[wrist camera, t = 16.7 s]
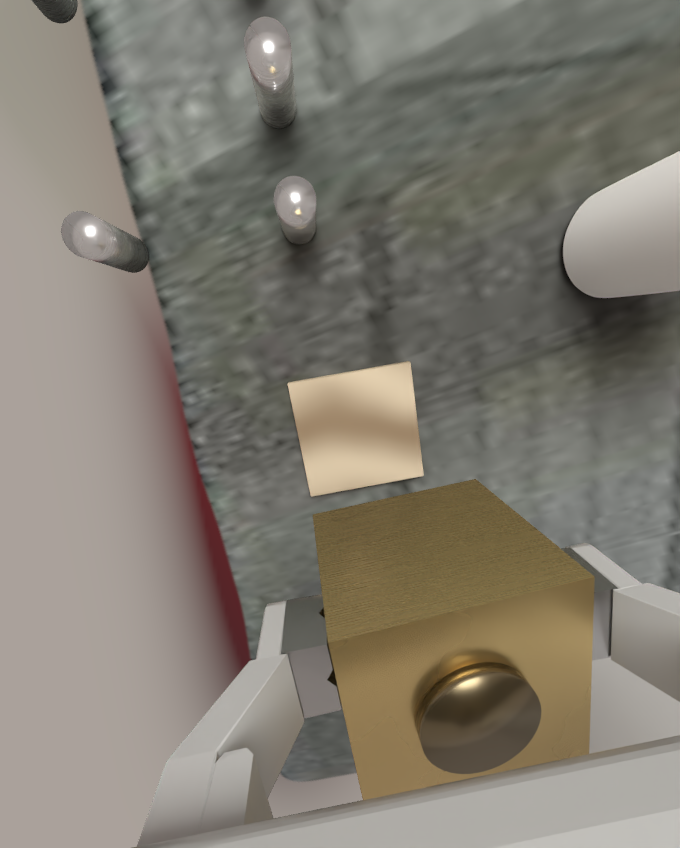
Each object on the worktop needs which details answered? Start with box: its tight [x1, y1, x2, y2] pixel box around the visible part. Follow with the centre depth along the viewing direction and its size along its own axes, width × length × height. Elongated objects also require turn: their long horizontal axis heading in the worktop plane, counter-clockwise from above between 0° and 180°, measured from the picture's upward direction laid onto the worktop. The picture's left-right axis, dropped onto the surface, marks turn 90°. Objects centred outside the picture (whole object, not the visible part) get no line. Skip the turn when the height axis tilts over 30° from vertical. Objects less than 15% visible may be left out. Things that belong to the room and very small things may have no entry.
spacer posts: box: [32, 0, 316, 273], centre depth 18 cm, size 14×12×4 cm
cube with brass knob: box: [313, 479, 595, 800], centre depth 9 cm, size 5×5×5 cm
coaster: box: [288, 361, 424, 497], centre depth 25 cm, size 8×8×1 cm
